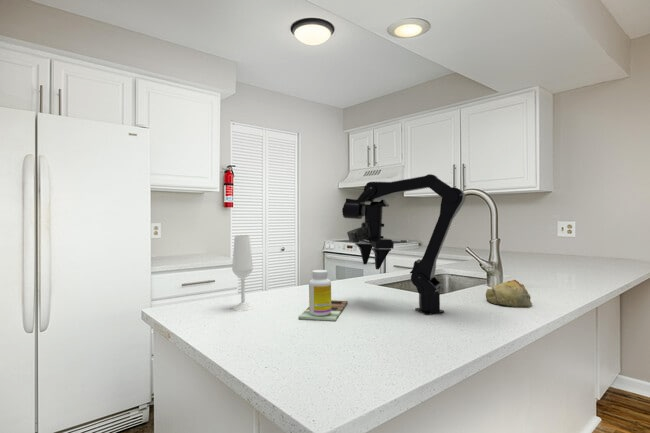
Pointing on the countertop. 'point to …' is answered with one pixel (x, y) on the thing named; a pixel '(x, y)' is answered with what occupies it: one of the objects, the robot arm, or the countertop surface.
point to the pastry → (509, 294)
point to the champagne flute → (242, 266)
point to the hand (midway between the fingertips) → (370, 266)
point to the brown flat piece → (336, 311)
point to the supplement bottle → (320, 293)
